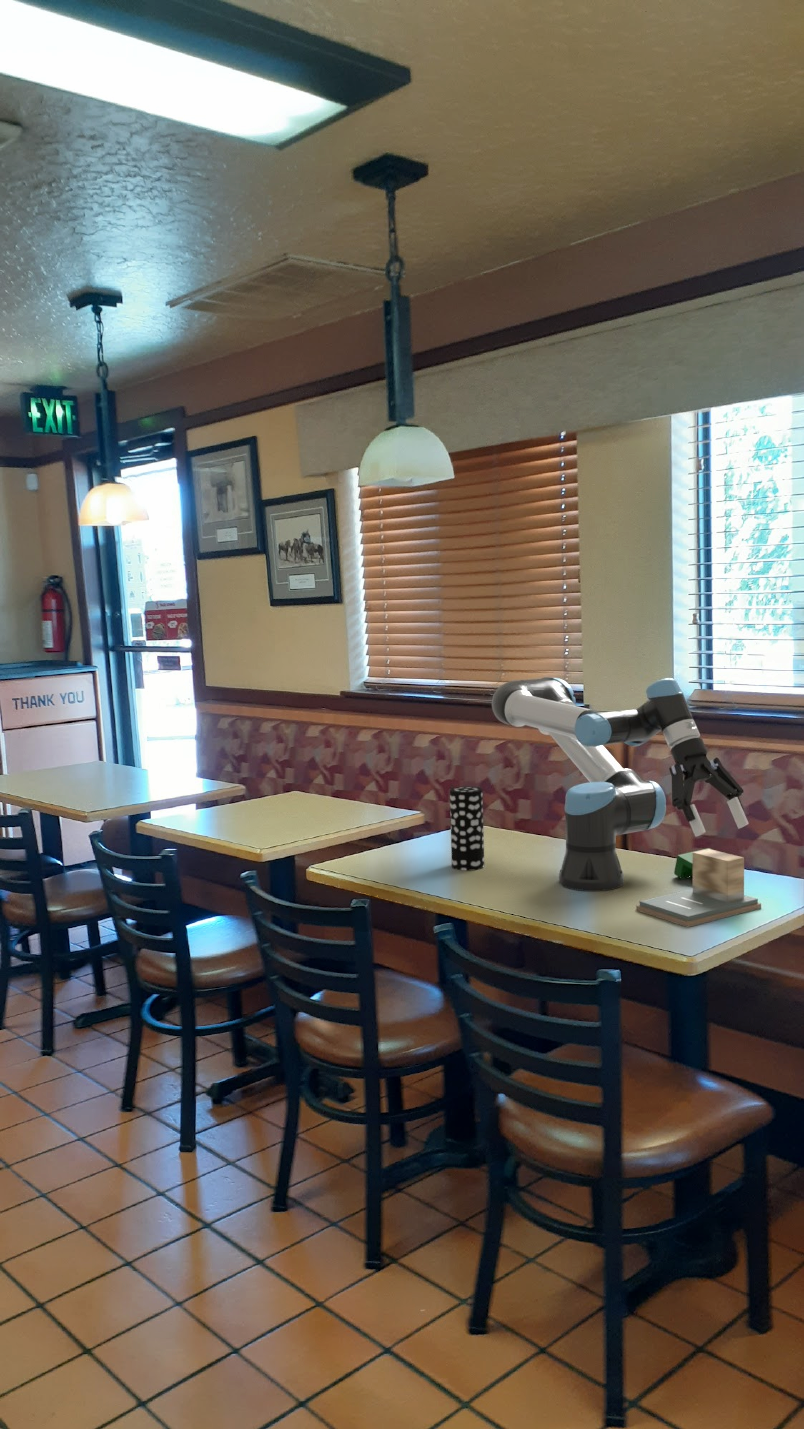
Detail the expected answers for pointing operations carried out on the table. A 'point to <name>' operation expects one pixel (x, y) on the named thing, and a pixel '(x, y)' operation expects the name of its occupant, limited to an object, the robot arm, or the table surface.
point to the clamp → (685, 865)
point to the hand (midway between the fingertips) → (722, 830)
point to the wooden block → (718, 875)
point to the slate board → (694, 907)
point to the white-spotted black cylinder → (467, 828)
